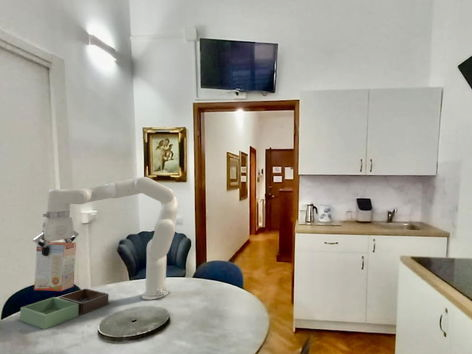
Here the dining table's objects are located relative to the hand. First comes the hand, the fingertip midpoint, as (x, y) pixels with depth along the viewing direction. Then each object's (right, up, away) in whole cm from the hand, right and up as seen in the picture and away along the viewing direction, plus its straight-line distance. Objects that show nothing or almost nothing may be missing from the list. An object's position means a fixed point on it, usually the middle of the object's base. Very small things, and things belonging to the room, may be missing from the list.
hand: (56, 253), depth 116 cm
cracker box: (0, -16, -1) cm, 16 cm away
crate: (+4, -29, +10) cm, 31 cm away
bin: (-1, -29, -2) cm, 29 cm away
